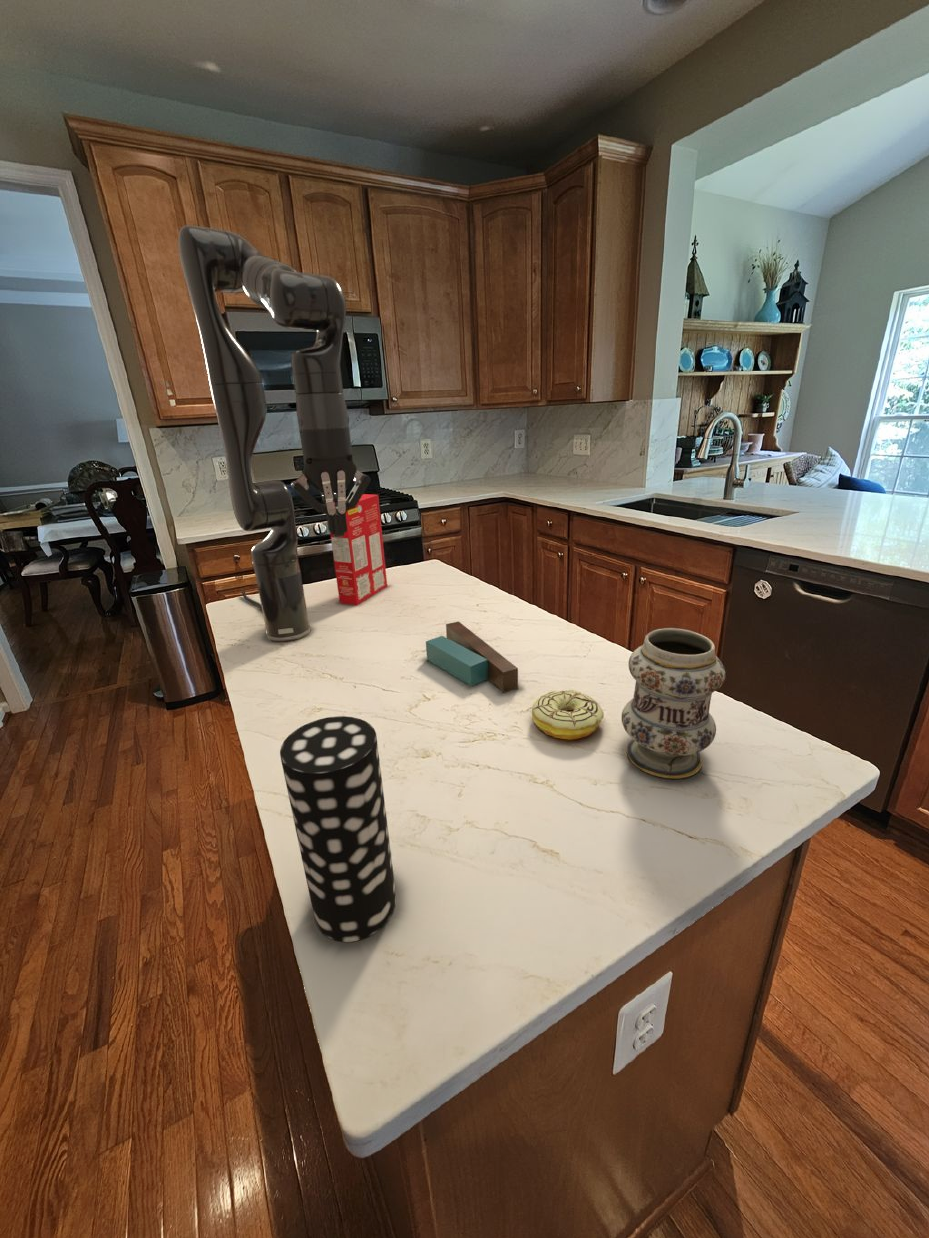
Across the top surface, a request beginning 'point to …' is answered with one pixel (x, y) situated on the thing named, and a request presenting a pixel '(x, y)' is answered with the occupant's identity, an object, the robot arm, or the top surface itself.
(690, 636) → the apothecary jar
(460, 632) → the walnut rail
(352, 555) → the food packaging
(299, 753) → the spotted tube
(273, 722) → the top surface
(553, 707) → the decorated donut
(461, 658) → the teal bar
